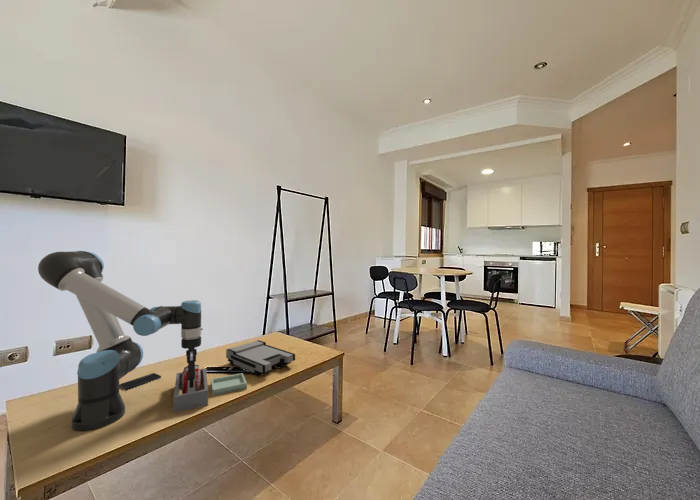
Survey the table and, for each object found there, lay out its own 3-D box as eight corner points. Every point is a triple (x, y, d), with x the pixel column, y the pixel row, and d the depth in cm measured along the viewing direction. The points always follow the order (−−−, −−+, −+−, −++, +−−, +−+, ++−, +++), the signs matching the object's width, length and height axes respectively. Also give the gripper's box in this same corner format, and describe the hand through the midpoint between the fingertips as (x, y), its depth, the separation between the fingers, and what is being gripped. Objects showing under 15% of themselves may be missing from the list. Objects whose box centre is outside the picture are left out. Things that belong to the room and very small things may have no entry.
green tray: (212, 395, 127) (212, 390, 127) (211, 384, 137) (211, 379, 137) (246, 388, 133) (246, 383, 133) (242, 378, 144) (242, 373, 144)
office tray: (262, 380, 142) (262, 363, 142) (226, 364, 161) (226, 349, 161) (295, 366, 158) (295, 351, 158) (258, 353, 178) (258, 340, 178)
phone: (118, 384, 135) (153, 372, 148) (118, 387, 135) (153, 375, 148) (126, 388, 131) (162, 376, 144) (126, 391, 131) (162, 378, 144)
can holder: (208, 405, 119) (208, 390, 119) (173, 412, 114) (173, 397, 114) (205, 380, 141) (205, 368, 141) (176, 386, 135) (176, 373, 135)
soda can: (192, 400, 123) (192, 371, 123) (178, 398, 124) (178, 369, 124) (204, 391, 130) (204, 364, 130) (190, 390, 131) (190, 363, 131)
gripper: (201, 342, 120) (201, 398, 120) (200, 330, 138) (200, 379, 138) (180, 345, 116) (180, 403, 117) (182, 332, 134) (182, 382, 134)
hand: (191, 390), depth 127 cm, fingers closed on soda can, 7 cm apart
